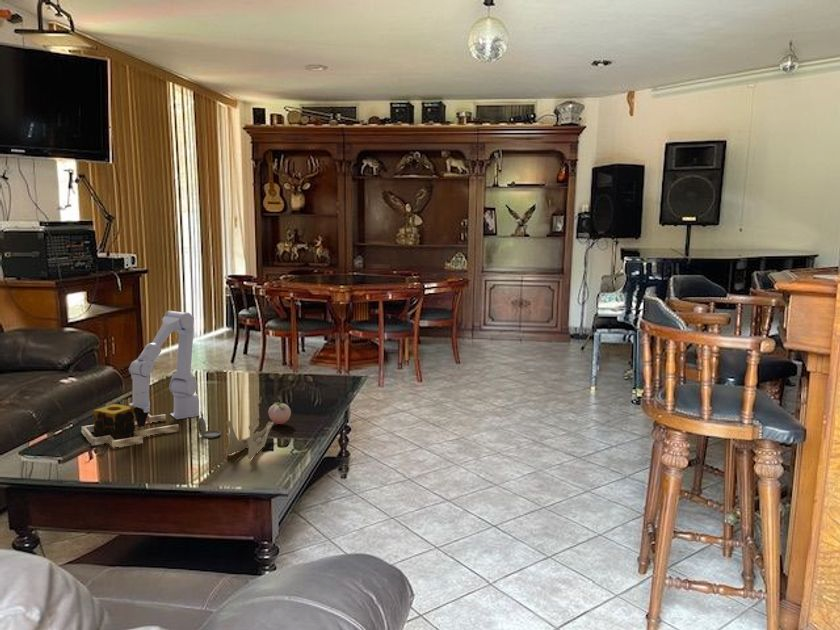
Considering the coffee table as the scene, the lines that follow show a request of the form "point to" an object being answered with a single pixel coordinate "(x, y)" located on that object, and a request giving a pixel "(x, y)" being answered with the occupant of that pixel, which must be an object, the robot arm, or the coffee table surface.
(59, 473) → the coffee table surface
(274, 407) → the decorative fruit
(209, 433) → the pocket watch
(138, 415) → the robot arm
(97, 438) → the trap channel
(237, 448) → the jawbone
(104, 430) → the candle
